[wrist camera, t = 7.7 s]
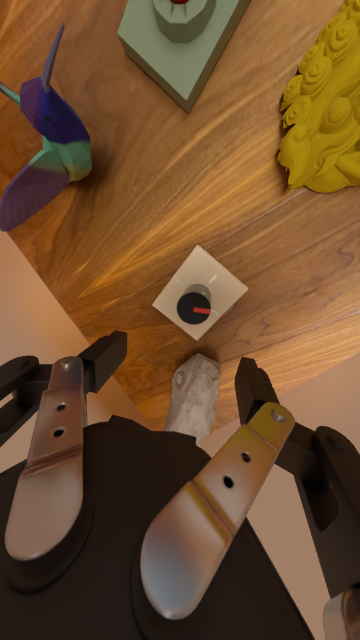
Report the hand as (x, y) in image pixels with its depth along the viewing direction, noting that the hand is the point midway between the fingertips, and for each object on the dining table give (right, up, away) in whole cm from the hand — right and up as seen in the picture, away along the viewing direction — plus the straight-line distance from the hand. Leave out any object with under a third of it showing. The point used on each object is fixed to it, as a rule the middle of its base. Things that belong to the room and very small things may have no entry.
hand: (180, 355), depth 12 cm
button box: (+1, +36, +8) cm, 37 cm away
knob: (+3, +6, +16) cm, 17 cm away
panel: (+3, +7, +19) cm, 20 cm away
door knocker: (+20, +27, +8) cm, 34 cm away
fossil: (+3, -9, +25) cm, 27 cm away
